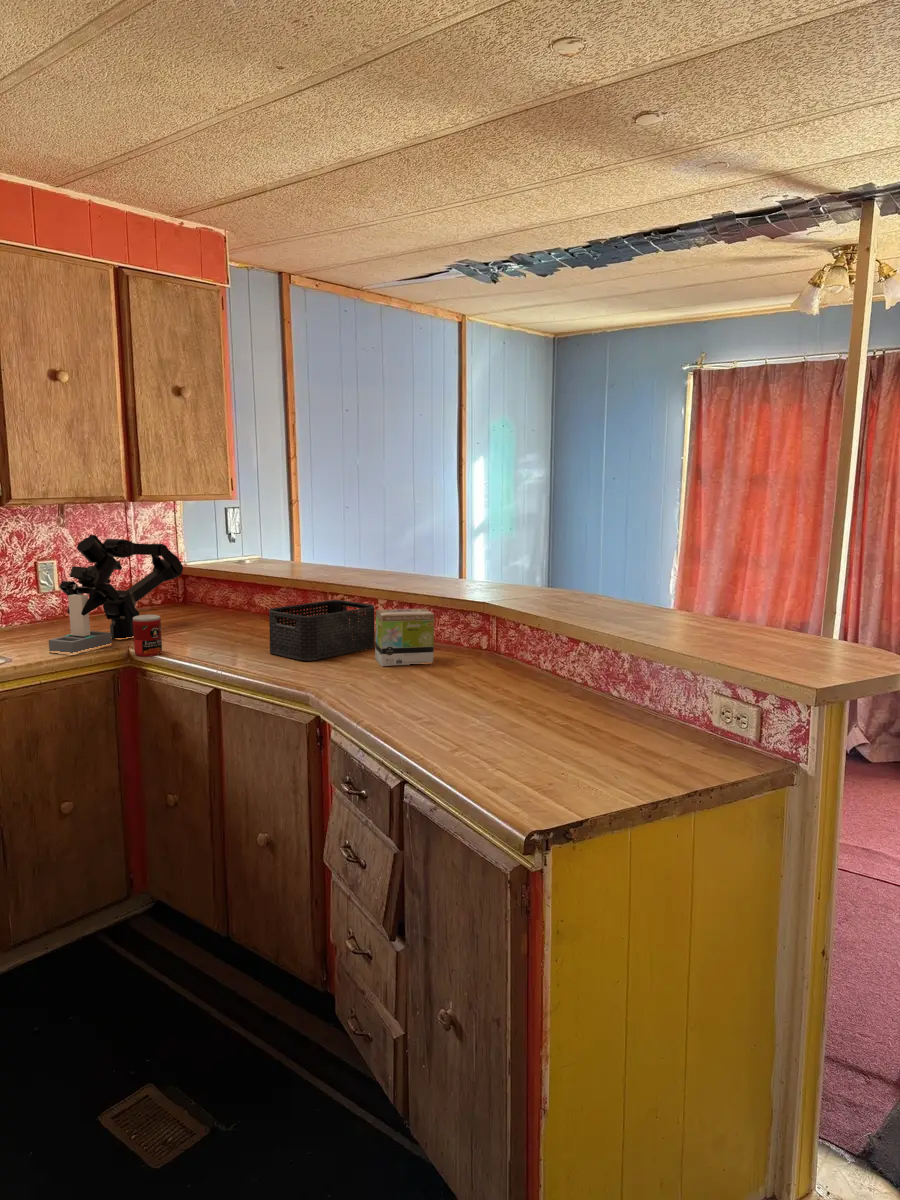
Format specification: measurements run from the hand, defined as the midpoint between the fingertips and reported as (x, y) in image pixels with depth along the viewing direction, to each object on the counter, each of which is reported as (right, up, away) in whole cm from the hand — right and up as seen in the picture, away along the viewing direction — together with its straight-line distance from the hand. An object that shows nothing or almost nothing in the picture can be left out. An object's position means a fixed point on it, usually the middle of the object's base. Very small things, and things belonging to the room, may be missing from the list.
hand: (75, 614), depth 246 cm
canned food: (+22, -12, -2) cm, 25 cm away
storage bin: (+73, -11, +4) cm, 74 cm away
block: (+1, -6, +2) cm, 7 cm away
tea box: (+98, -14, -10) cm, 99 cm away
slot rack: (0, -11, +3) cm, 11 cm away
